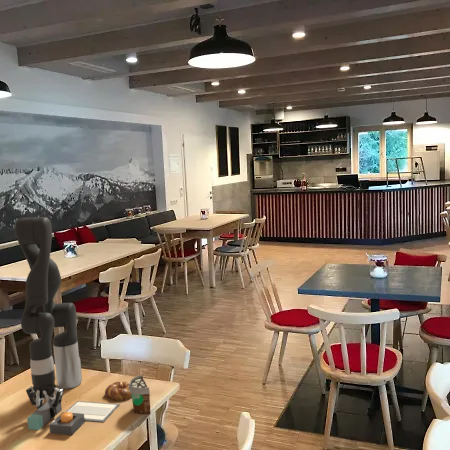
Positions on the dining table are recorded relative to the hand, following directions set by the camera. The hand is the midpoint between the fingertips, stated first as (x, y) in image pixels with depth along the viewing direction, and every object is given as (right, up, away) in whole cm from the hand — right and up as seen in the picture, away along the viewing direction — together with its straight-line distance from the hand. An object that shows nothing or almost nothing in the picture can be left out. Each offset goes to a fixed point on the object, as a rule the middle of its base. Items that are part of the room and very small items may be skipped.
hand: (47, 416), depth 169 cm
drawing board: (+14, +1, +3) cm, 14 cm away
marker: (0, -1, -1) cm, 1 cm away
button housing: (+9, -1, -7) cm, 12 cm away
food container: (+32, +1, +2) cm, 32 cm away
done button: (+9, +1, -8) cm, 12 cm away
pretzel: (+22, +2, +15) cm, 27 cm away
